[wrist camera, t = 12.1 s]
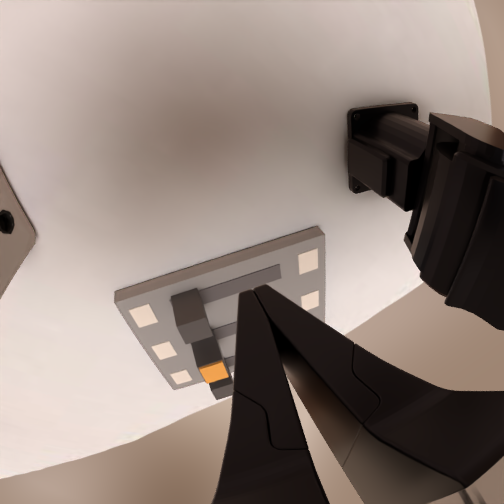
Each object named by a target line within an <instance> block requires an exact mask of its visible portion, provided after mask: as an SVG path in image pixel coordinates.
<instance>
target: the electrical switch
mask: <svg viewBox="0 0 504 504" xmlns="http://www.w3.org/2000/svg"><path fill="white" fill-rule="evenodd" d="M34 244H35V232H34V229H33V228H32V226H31V224H30V222H29V221H28V219H27V217H26V216H25V214H24V212H23V210H22V209H21V207H20V205H19V203H18V201H17V199H16V198H15V196H14V194H13V192H12V190H11V188H10V186H9V184H8V182H7V180H6V178H5V176H4V174H3V172H2V170H1V168H0V299H1V297H2V295H3V294H4V292H5V290H6V288H7V287H8V285H9V283H10V282H11V280H12V278H13V277H14V275H15V273H16V272H17V270H18V269H19V267H20V265H21V264H22V262H23V261H24V259H25V258H26V256H27V255H28V253H29V252H30V250H31V249H32V247H33V246H34Z"/></svg>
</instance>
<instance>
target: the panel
mask: <svg viewBox="0 0 504 504" xmlns="http://www.w3.org/2000/svg"><path fill="white" fill-rule="evenodd" d="M263 284H267V285H269V286H270V287H272V288H273V289H275V290H276V291H278V292H279V293H281V294H282V295H284V296H285V297H287V298H288V299H290V300H291V301H293V302H294V303H296V304H297V305H299V306H300V307H302V308H303V309H305V310H306V311H308V312H309V313H311V314H312V315H314V316H315V317H317V318H318V319H320V320H321V321H323V322H324V323H325V234H324V233H323V231H322V230H321V229H320V228H319V227H318V226H316V227H313V228H310V229H307V230H304V231H301V232H298V233H294V234H291V235H288V236H285V237H282V238H279V239H276V240H273V241H269V242H266V243H263V244H260V245H257V246H254V247H251V248H248V249H245V250H242V251H238V252H235V253H232V254H229V255H226V256H223V257H220V258H217V259H214V260H211V261H207V262H204V263H201V264H198V265H195V266H192V267H189V268H186V269H183V270H180V271H177V272H174V273H170V274H167V275H164V276H161V277H158V278H155V279H152V280H149V281H146V282H143V283H140V284H137V285H134V286H131V287H128V288H125V289H121V290H118V291H115V296H114V303H115V305H116V306H117V308H118V310H119V311H120V313H121V314H122V316H123V318H124V319H125V321H126V322H127V324H128V325H129V327H130V329H131V330H132V332H133V333H134V335H135V336H136V338H137V339H138V341H139V342H140V344H141V345H142V347H143V348H144V350H145V351H146V353H147V354H148V355H149V357H150V358H151V360H152V361H153V363H154V364H155V365H156V367H157V368H158V370H159V371H160V372H161V374H162V375H163V376H164V378H165V379H166V381H167V382H168V383H169V385H170V386H171V387H172V389H173V390H177V389H180V388H184V387H187V386H191V385H194V384H197V383H201V382H204V379H203V377H202V375H201V374H200V372H199V370H198V368H197V366H196V362H195V358H194V354H193V350H192V346H191V343H193V342H196V341H199V340H202V339H205V338H208V337H211V336H213V334H212V331H211V330H214V333H215V335H216V338H217V340H218V343H219V345H220V348H221V351H222V354H223V357H224V360H225V363H226V366H227V369H228V372H229V375H228V376H229V377H227V378H224V379H220V380H217V381H214V382H211V383H209V385H210V389H211V391H212V393H213V395H214V396H215V398H216V400H218V399H222V398H225V397H228V396H231V395H233V379H232V376H231V373H232V372H234V361H235V343H236V326H237V309H238V295H239V293H240V292H243V291H245V290H248V289H252V290H253V289H254V288H255V287H257V286H260V285H263Z"/></svg>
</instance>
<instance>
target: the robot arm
mask: <svg viewBox="0 0 504 504" xmlns="http://www.w3.org/2000/svg"><path fill="white" fill-rule="evenodd" d="M412 108H413V109H412ZM355 114H357V116H356V118H355V119H354V115H355ZM429 122H430V125H428V124H425V123H423V122H420V121H418V106H417V105H416V104H414V103H411V102H409V103H398V104H388V105H378V106H370V107H362V108H354V109H351V110H350V111H349V113H348V136H349V140H348V172H349V188H350V190H351V191H352V192H353V193H355V194H358V193H361V192H365V191H368V190H373V191H374V192H376V193H377V194H378V195H380V196H381V197H383V198H385V197H387V198H388V199H389V200H391V201H392V202H393V203H395V204H396V205H397V206H399V207H400V208H401V209H402V210H404V211H405V212H407V211H410V210H412V211H413V212H412V216H411V220H410V224H409V228H408V231H407V232H406V233H405V237H404V242H405V243H406V245H407V247H408V249H409V251H410V252H411V254H412V259H413V261H414V262H415V264H416V266H417V267H418V269H419V270H420V271H421V272H420V278H421V279H422V281H424V282H425V283H426V284H427V285H428V286H429V287H430V288H432V289H434V290H435V291H436V292H437V293H439V294H440V295H442V296H445V297H446V300H445V304H446V305H447V306H451V307H456V308H461V309H464V310H466V311H468V312H471V313H474V314H475V315H477V316H478V317H480V318H482V319H483V320H485V321H486V322H488V323H489V324H491V325H492V326H493V327H495V328H496V329H499V330H504V133H503V132H502V131H501V130H500V129H498V128H495V127H493V126H491V125H488V124H486V123H483V122H480V121H478V120H475V119H472V118H467V117H460V116H454V115H446V114H439V113H430V114H429ZM356 185H357V187H356ZM355 187H356V188H355ZM285 373H286V374H285ZM286 375H287V377H288V379H289V380H290V382H291V384H292V385H293V387H294V389H295V391H296V392H297V394H298V396H299V397H300V399H301V401H302V402H303V404H304V406H305V408H306V409H307V411H308V413H309V414H310V416H311V418H312V419H313V421H314V423H315V424H316V426H317V428H318V429H319V431H320V433H321V434H322V436H323V438H324V439H325V441H326V443H327V444H328V446H329V448H330V449H331V451H332V452H333V454H334V456H335V457H336V459H337V461H338V462H339V464H340V466H341V467H343V468H342V469H343V471H344V472H345V474H346V475H347V477H348V478H349V480H350V482H351V483H352V485H353V487H354V488H355V490H356V491H357V493H358V494H359V496H360V498H361V499H362V501H363V502H364V504H504V391H454V390H447V389H443V388H440V387H437V386H435V385H433V384H431V383H428V382H426V381H424V380H422V379H420V378H418V377H415V376H414V375H411V374H409V373H407V372H405V371H403V370H400V369H399V368H397V367H395V366H393V365H391V364H389V363H387V362H385V361H383V360H382V359H380V358H378V357H377V356H375V355H373V354H372V353H370V352H368V351H366V350H365V349H364V348H362V347H360V346H359V345H358V344H354V342H353V341H351V340H350V339H348V338H347V337H345V336H344V335H342V334H341V333H339V332H338V331H336V330H335V329H333V328H332V327H330V326H329V325H327V324H326V323H324V322H323V321H321V320H320V319H318V318H317V317H315V316H314V315H312V314H311V313H309V312H308V311H306V310H305V309H303V308H302V307H300V306H299V305H297V304H296V303H294V302H293V301H291V300H290V299H288V298H287V297H285V296H284V295H282V294H281V293H279V292H278V291H276V290H275V289H273V288H272V287H270V286H269V285H267V284H263V285H260V286H257V287H255V288H254V289H253V290H252V289H248V290H245V291H243V292H240V293H239V295H238V309H237V326H236V343H235V361H234V380H233V395H232V410H231V421H230V427H229V433H228V439H227V444H226V449H225V453H224V458H223V463H222V468H221V472H220V477H219V481H218V485H217V489H216V492H215V495H214V498H213V501H212V503H211V504H330V503H329V501H328V498H327V496H326V494H325V491H324V489H323V486H322V484H321V481H320V479H319V477H318V474H317V472H316V469H315V466H314V463H313V460H312V457H311V454H310V451H309V450H308V445H307V442H306V438H305V435H304V432H303V429H302V426H301V423H300V419H299V416H298V412H297V409H296V406H295V403H294V399H293V396H292V393H291V390H290V387H289V384H288V380H287V377H286Z"/></svg>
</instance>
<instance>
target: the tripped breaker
mask: <svg viewBox="0 0 504 504" xmlns="http://www.w3.org/2000/svg"><path fill="white" fill-rule="evenodd" d="M211 331H212V334H213V336H211V337H208V338H205V339H202V340H199V341H196V342H193V343H191V346H192V350H193V354H194V358H195V362H196V366H197V368H198V370H199V372H200V374H201V375H202V377H203V379H204V381H205V382H206V383H207V384H208V383H211V382H214V381H217V380H220V379H224V378H227V377H229V376H228V375H229V372H228V369H227V366H226V363H225V360H224V357H223V354H222V351H221V348H220V345H219V343H218V340H217V338H216V335H215V333H214V330H211Z"/></svg>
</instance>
